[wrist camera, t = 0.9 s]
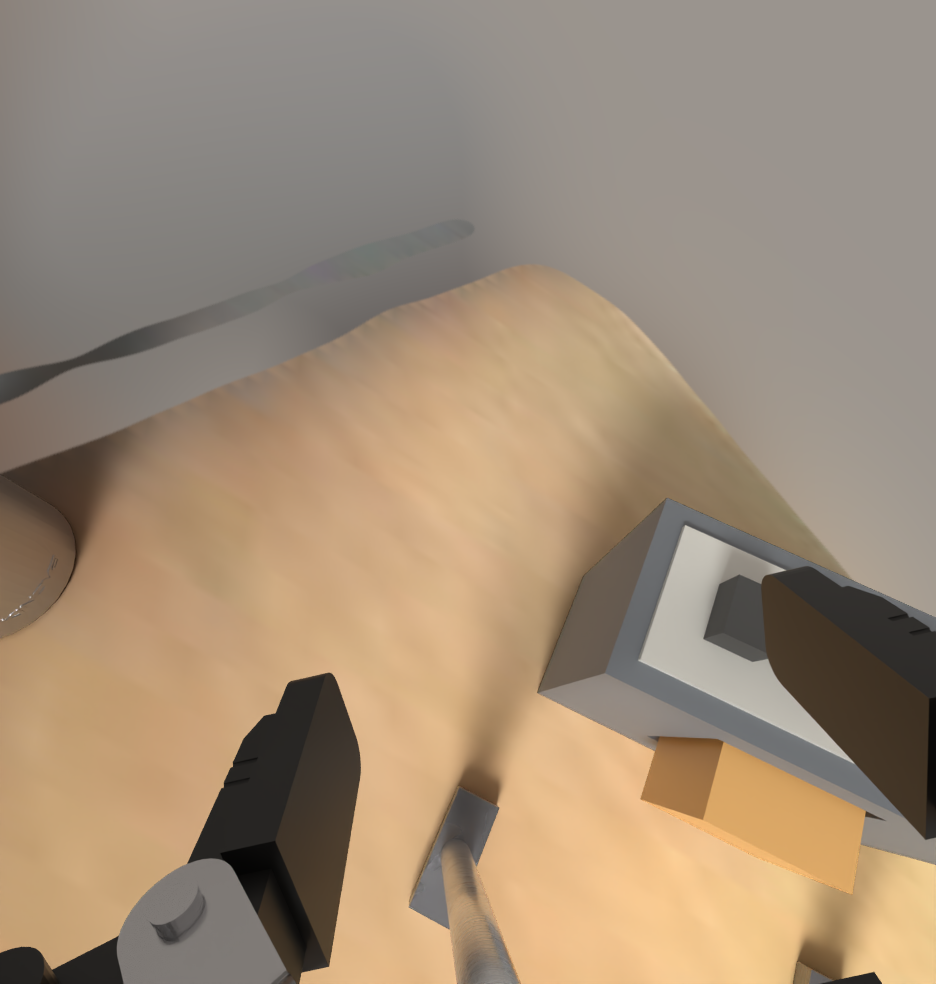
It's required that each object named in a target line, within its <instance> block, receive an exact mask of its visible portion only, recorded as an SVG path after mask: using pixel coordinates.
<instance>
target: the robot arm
mask: <svg viewBox="0 0 936 984" xmlns="http://www.w3.org/2000/svg"><path fill="white" fill-rule="evenodd" d="M75 554H76V551H75V538H74V535H73V532H72V529H71V526H70V525H69V523H68V522H67V520H66V519H65V517H64V516H63V514H61V513H60V512H59V511H58V510H57V509H56V508H54V507H53V506H52V505H50V504H49V503H47V502H45V501H44V500H42V499H40V498H38V497H37V496H35V495H33V494H32V493H30V492H28V491H27V490H25V489H23V488H22V487H20V486H18V485H17V484H15V483H14V482H12V481H10V480H9V479H7V478H5V477H4V476H2V475H0V638H2V637H5V636H8V635H11V634H13V633H15V632H17V631H19V630H21V629H22V628H24V627H26V626H28V625H30V624H31V623H32V622H34V621H35V620H36V619H37V618H39V617H40V616H41V615H42V614H44V613H45V612H46V611H47V610H48V609H49V608H50V606H51V605H52V604H53V603H54V602H55V601H56V600H57V599H58V597H59V596H60V594H61V592H62V591H63V589H64V588H65V586H66V585H67V583H68V580H69V577H70V575H71V572H72V570H73V566H74V560H75ZM761 593H762V606H763V619H764V632H765V646H766V653H767V657H768V660H769V663H770V666H771V668H772V670H773V672H774V674H775V676H776V678H777V679H778V681H779V682H780V683H781V684H782V686H783V687H784V688H785V689H786V690H787V691H788V692H789V693H790V694H791V695H792V696H793V697H794V699H795V700H796V701H797V702H798V703H799V704H800V705H801V706H802V707H803V708H804V709H805V710H806V711H807V713H808V714H809V715H810V716H811V717H812V718H813V719H814V720H815V721H816V722H817V723H818V724H819V726H820V727H821V728H822V729H823V730H824V731H825V732H826V733H827V734H828V735H829V736H830V737H831V738H832V740H833V741H834V742H835V743H836V744H837V745H838V746H839V747H840V748H841V749H842V750H843V751H844V753H845V754H846V755H847V756H848V757H849V758H850V759H851V760H852V761H853V762H854V763H855V764H856V765H857V767H858V768H859V769H860V770H861V771H862V772H863V773H864V774H865V775H866V776H867V777H868V778H869V780H870V781H871V782H872V783H873V784H874V785H875V786H876V787H877V788H878V789H879V790H880V791H881V792H882V794H883V795H884V796H885V797H886V798H887V799H888V800H889V801H890V802H891V803H892V804H893V805H894V806H895V808H896V809H897V810H898V811H899V812H900V813H901V814H902V815H903V816H904V817H905V818H906V819H907V821H908V822H909V823H910V824H911V825H912V826H913V827H914V828H915V829H916V830H917V831H918V832H919V833H920V835H921V836H922V837H923V838H924V839H925V840H928V839H932V838H936V631H933V632H931V630H930V628H929V627H928V626H927V625H925V624H923V623H922V622H920V621H919V620H917V619H916V618H914V617H909V616H908V613H906V612H905V611H903V610H902V609H900V608H898V607H897V606H895V605H894V604H892V603H891V602H889V601H887V600H886V599H884V598H883V597H881V596H878V595H875V594H872V593H869V592H866V591H863V590H860V589H857V588H854V587H851V586H845V587H841V586H840V585H838V584H837V583H835V582H834V581H832V580H831V579H829V578H828V577H826V576H825V575H823V574H822V573H820V572H819V571H817V570H816V569H814V568H813V567H810V566H804V567H800V568H795V569H791V570H786V571H782V572H777V573H773V574H769V575H765V576H764V577H763V579H762V583H761ZM360 773H361V762H360V752H359V746H358V742H357V739H356V736H355V733H354V730H353V727H352V724H351V721H350V718H349V715H348V712H347V710H346V707H345V704H344V701H343V698H342V695H341V692H340V689H339V686H338V684H337V681H336V679H335V677H334V676H333V674H331V673H325V674H321V675H316V676H312V677H308V678H303V679H299V680H294V681H291V682H289V683H288V685H287V687H286V689H285V691H284V694H283V696H282V699H281V701H280V704H279V706H278V709H277V711H276V713H275V714H271V715H266V716H264V717H263V718H262V719H261V720H260V721H259V722H258V723H257V724H256V726H255V727H254V728H253V729H252V730H251V731H250V732H249V733H248V735H247V736H246V737H245V738H244V739H243V741H242V744H241V746H240V748H239V750H238V753H237V755H236V757H235V759H234V761H233V767H232V768H230V770H229V772H228V775H227V777H226V779H225V781H224V788H221V790H220V792H219V795H218V797H217V799H216V801H215V803H214V806H213V808H212V810H211V812H210V815H209V817H208V819H207V821H206V823H205V826H204V828H203V830H202V832H201V834H200V837H199V839H198V841H197V843H196V846H195V848H194V850H193V852H192V854H191V857H190V859H189V861H188V863H187V864H186V865H184V866H182V867H180V868H178V869H176V870H174V871H173V872H171V873H170V874H168V875H167V876H165V877H164V878H163V879H161V880H160V881H159V882H157V883H156V884H155V885H154V886H153V887H152V888H151V889H150V890H148V891H147V892H146V894H145V895H144V896H143V897H142V898H141V899H140V900H139V901H138V903H137V904H136V905H135V906H134V908H133V909H132V910H131V912H130V914H129V915H128V917H127V918H126V920H125V922H124V924H123V926H122V929H121V931H120V934H119V936H117V937H116V938H114V939H112V940H110V941H108V942H106V943H104V944H102V945H100V946H98V947H96V948H94V949H92V950H90V951H88V952H86V953H84V954H82V955H80V956H78V957H77V958H75V959H73V960H71V961H69V962H67V963H65V964H63V965H61V966H59V967H57V968H55V969H53V970H52V969H51V968H50V966H49V965H48V963H47V962H46V960H45V958H44V957H43V955H42V954H41V952H39V951H38V950H37V949H35V948H31V947H19V948H13V949H10V950H7V951H4V952H2V953H0V984H299V982H300V977H301V973H302V972H306V971H311V970H316V969H320V968H325V967H329V964H330V958H331V952H332V945H333V939H334V933H335V927H336V921H337V915H338V909H339V903H340V897H341V891H342V884H343V878H344V872H345V866H346V860H347V854H348V848H349V842H350V836H351V830H352V823H353V817H354V811H355V805H356V799H357V793H358V787H359V781H360ZM821 984H882V983H881V981H880V980H879V978H878V977H877V975H876V974H875V972H872V973H867V974H863V975H858V976H853V977H849V978H844V979H839V980H835V981H830V982H825V983H821Z"/></svg>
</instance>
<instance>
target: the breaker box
mask: <svg viewBox="0 0 936 984" xmlns="http://www.w3.org/2000/svg"><path fill="white" fill-rule="evenodd" d="M804 566H810V567H813V568H814V569H816V570H817V571H819V572H820V573H822V574H823V575H825V576H826V577H828V578H829V579H831V580H832V581H834V582H835V583H837V584H838V585H840V586H841V587H845V586H851V587H854V588H857V589H860V590H863V591H866V592H869V593H872V594H875V595H878V596H881V597H883V598H884V599H886V600H887V601H889V602H891V603H892V604H894V605H895V606H897V607H898V608H900V609H902V610H903V611H905V612H906V613H908V616H909V617H914V618H916V619H917V620H919V621H920V622H922V623H923V624H925V625H927V626H928V627H929V628H930V630H931V632H933V631H936V617H933V616H931V615H929V614H927V613H924V612H922V611H920V610H918V609H915V608H913V607H911V606H909V605H907V604H904V603H902V602H900V601H898V600H895V599H893V598H891V597H889V596H886V595H884V594H882V593H880V592H877V591H875V590H873V589H871V588H868V587H866V586H864V585H861V584H859V583H857V582H855V581H853V580H851V579H848V578H846V577H844V576H842V575H839V574H837V573H835V572H833V571H830V570H828V569H826V568H824V567H821V566H819V565H817V564H815V563H812V562H810V561H808V560H806V559H803V558H801V557H799V556H797V555H794V554H792V553H790V552H788V551H786V550H783V549H781V548H779V547H777V546H774V545H772V544H770V543H768V542H765V541H763V540H761V539H759V538H756V537H754V536H752V535H750V534H747V533H745V532H743V531H741V530H738V529H736V528H734V527H732V526H729V525H727V524H725V523H723V522H720V521H718V520H716V519H714V518H712V517H709V516H707V515H705V514H703V513H700V512H698V511H696V510H694V509H691V508H689V507H687V506H685V505H682V504H680V503H678V502H676V501H673V500H671V499H669V498H666V499H665V500H664V501H663V502H662V503H661V504H660V505H659V506H658V507H657V508H656V509H655V510H654V511H652V512H651V513H650V514H649V515H648V516H647V517H646V518H645V519H644V520H643V521H642V522H641V523H640V524H639V525H637V526H636V527H635V528H634V529H633V530H632V531H631V532H630V533H629V534H628V535H627V536H626V537H625V538H624V539H623V540H621V541H620V542H619V543H618V544H617V545H616V546H615V547H614V548H613V549H612V550H611V551H610V552H609V553H608V554H606V555H605V556H604V557H603V558H602V559H601V560H600V561H599V562H598V563H597V564H596V565H595V566H594V567H593V568H592V569H590V570H589V571H588V572H587V573H586V574H585V575H584V576H583V579H582V581H581V584H580V586H579V589H578V591H577V594H576V596H575V599H574V601H573V604H572V606H571V609H570V611H569V614H568V616H567V619H566V622H565V624H564V627H563V629H562V632H561V634H560V637H559V639H558V642H557V644H556V647H555V649H554V652H553V654H552V657H551V659H550V662H549V665H548V667H547V670H546V672H545V675H544V677H543V680H542V682H541V685H540V687H539V690H538V692H537V693H538V694H541V695H543V696H545V697H547V698H549V699H551V700H553V701H555V702H557V703H559V704H561V705H563V706H565V707H567V708H569V709H571V710H573V711H575V712H577V713H579V714H581V715H583V716H585V717H587V718H589V719H591V720H593V721H595V722H597V723H599V724H601V725H603V726H605V727H607V728H609V729H611V730H614V731H616V732H618V733H620V734H622V735H624V736H626V737H628V738H630V739H632V740H634V741H636V742H638V743H640V744H642V745H644V746H646V747H648V748H650V749H652V750H654V751H655V750H656V747H657V744H658V740H659V737H660V736H664V737H688V738H712V739H719V740H721V741H723V742H725V743H727V744H729V745H731V746H733V747H735V748H737V749H739V750H741V751H744V752H746V753H748V754H750V755H752V756H754V757H756V758H758V759H760V760H762V761H764V762H766V763H768V764H770V765H772V766H774V767H776V768H779V769H781V770H783V771H785V772H787V773H789V774H791V775H793V776H795V777H797V778H799V779H801V780H803V781H805V782H807V783H809V784H811V785H814V786H816V787H818V788H820V789H822V790H824V791H826V792H828V793H830V794H832V795H834V796H836V797H838V798H840V799H842V800H844V801H847V802H849V803H851V804H853V805H855V806H857V807H859V808H861V809H863V810H865V811H866V813H865V819H864V826H863V832H862V838H861V845H865V846H868V847H872V848H876V849H879V850H883V851H887V852H891V853H894V854H898V855H902V856H905V857H909V858H913V859H917V860H920V861H924V862H928V863H931V864H935V865H936V838H932V839H928V840H925V839H924V838H923V837H922V836H921V835H920V833H919V832H918V831H917V830H916V829H915V828H914V827H913V826H912V825H911V824H910V823H909V822H908V821H907V819H906V818H905V817H904V816H903V815H902V814H901V813H900V812H899V811H898V810H897V809H896V808H895V806H894V805H893V804H892V803H891V802H890V801H889V800H888V799H887V798H886V797H885V796H884V795H883V794H882V792H881V791H880V790H879V789H878V788H877V787H876V786H875V785H874V784H873V783H872V782H871V781H870V780H869V778H868V777H867V776H866V775H865V774H864V773H863V772H862V771H861V770H860V769H859V768H858V767H857V765H856V764H855V763H854V762H853V761H852V760H851V759H850V758H849V757H848V756H847V755H846V754H845V753H844V751H843V750H842V749H841V748H840V747H839V746H838V745H837V744H836V743H835V742H834V741H833V740H832V738H831V737H830V736H829V735H828V734H827V733H826V732H825V731H824V730H823V729H822V728H821V727H820V726H819V724H818V723H817V722H816V721H815V720H814V719H813V718H812V717H811V716H810V715H809V714H808V713H807V711H806V710H805V709H804V708H803V707H802V706H801V705H800V704H799V703H798V702H797V701H796V700H795V699H794V697H793V696H792V695H791V694H790V693H789V692H788V691H787V690H786V689H785V688H784V687H783V686H782V684H781V683H780V682H779V681H778V679H777V678H776V676H775V674H774V672H773V670H772V668H771V666H770V663H769V660H768V657H767V653H766V646H765V632H764V619H763V606H762V593H761V583H762V579H763V577H764V576H765V575H769V574H773V573H777V572H782V571H786V570H791V569H795V568H800V567H804Z"/></svg>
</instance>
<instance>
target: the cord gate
mask: <svg viewBox="0 0 936 984" xmlns="http://www.w3.org/2000/svg"><path fill="white" fill-rule="evenodd" d="M498 810H499V807H498V806H497V805H495V804H493V803H491V802H490V801H488V800H486V799H484V798H482V797H480V796H478V795H476V794H474V793H472V792H470V791H468V790H466V789H464V788H462V787H461V786H459V785H458V787H457V789H456V792H455V794H454V796H453V799H452V801H451V803H450V806H449V808H448V810H447V813H446V815H445V818H444V820H443V822H442V825H441V827H440V829H439V832H438V834H437V836H436V839H435V841H434V844H433V846H432V848H431V851H430V853H429V855H428V858H427V860H426V863H425V865H424V867H423V870H422V872H421V874H420V877H419V879H418V881H417V884H416V886H415V889H414V891H413V893H412V896H411V898H410V900H409V908H411V909H413V910H415V911H416V912H418V913H420V914H422V915H424V916H426V917H427V918H429V919H431V920H433V921H435V922H437V923H438V924H440V925H442V926H444V927H446V928H448V929H449V930H450V935H451V942H452V950H453V957H454V965H455V972H456V980H457V984H521V983H520V980H519V978H518V975H517V973H516V970H515V967H514V965H513V962H512V959H511V957H510V954H509V952H508V949H507V946H506V944H505V941H504V938H503V936H502V933H501V930H500V928H499V925H498V923H497V920H496V917H495V915H494V912H493V909H492V907H491V904H490V902H489V899H488V896H487V894H486V891H485V888H484V886H483V883H482V881H481V878H480V875H479V873H478V870H477V867H476V866H477V864H478V861H479V859H480V856H481V854H482V851H483V848H484V846H485V843H486V841H487V838H488V836H489V833H490V831H491V828H492V825H493V823H494V820H495V818H496V815H497V813H498ZM830 981H835V980H833V979H831V978H829V977H827V976H825V975H824V974H822V973H820V972H818V971H816V970H814V969H812V968H810V967H808V966H806V965H804V964H802V963H800V962H798V961H797V967H796V972H795V977H794V982H793V984H821V983H825V982H830Z"/></svg>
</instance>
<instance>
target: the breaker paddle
mask: <svg viewBox="0 0 936 984" xmlns="http://www.w3.org/2000/svg"><path fill="white" fill-rule="evenodd" d="M641 800H643V801H645V802H647V803H649V804H651V805H653V806H655V807H657V808H659V809H661V810H663V811H665V812H667V813H669V814H671V815H673V816H675V817H677V818H679V819H681V820H683V821H685V822H687V823H689V824H691V825H693V826H695V827H697V828H699V829H701V830H703V831H705V832H707V833H709V834H711V835H713V836H715V837H717V838H719V839H720V840H722V841H724V842H726V843H728V844H730V845H732V846H734V847H736V848H738V849H740V850H742V851H744V852H746V853H748V854H750V855H752V856H754V857H757V858H759V859H762V860H764V861H767V862H770V863H772V864H775V865H777V866H780V867H782V868H785V869H787V870H790V871H792V872H795V873H798V874H800V875H803V876H805V877H808V878H810V879H813V880H815V881H818V882H820V883H823V884H826V885H828V886H831V887H833V888H836V889H838V890H841V891H843V892H846V893H848V894H851V895H852V893H853V887H854V881H855V874H856V868H857V862H858V856H859V850H860V844H861V838H862V832H863V826H864V819H865V813H866V811H865V810H863V809H861V808H859V807H857V806H855V805H853V804H851V803H849V802H847V801H844V800H842V799H840V798H838V797H836V796H834V795H832V794H830V793H828V792H826V791H824V790H822V789H820V788H818V787H816V786H814V785H811V784H809V783H807V782H805V781H803V780H801V779H799V778H797V777H795V776H793V775H791V774H789V773H787V772H785V771H783V770H781V769H779V768H776V767H774V766H772V765H770V764H768V763H766V762H764V761H762V760H760V759H758V758H756V757H754V756H752V755H750V754H748V753H746V752H744V751H741V750H739V749H737V748H735V747H733V746H731V745H729V744H727V743H725V742H723V741H721V740H719V739H712V738H688V737H664V736H660V737H659V740H658V744H657V747H656V750H655V753H654V757H653V760H652V763H651V767H650V770H649V773H648V776H647V780H646V783H645V786H644V789H643V793H642V796H641Z"/></svg>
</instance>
